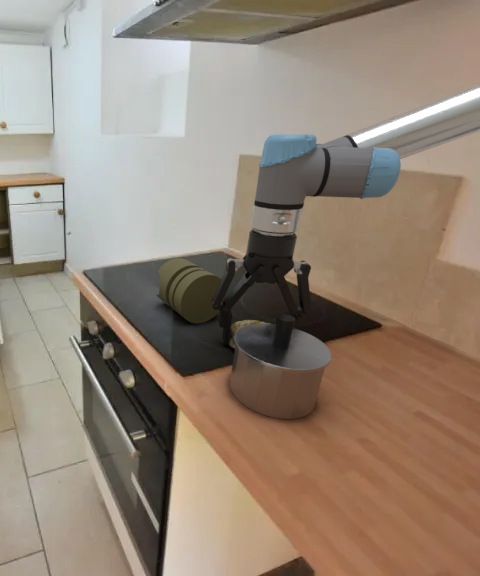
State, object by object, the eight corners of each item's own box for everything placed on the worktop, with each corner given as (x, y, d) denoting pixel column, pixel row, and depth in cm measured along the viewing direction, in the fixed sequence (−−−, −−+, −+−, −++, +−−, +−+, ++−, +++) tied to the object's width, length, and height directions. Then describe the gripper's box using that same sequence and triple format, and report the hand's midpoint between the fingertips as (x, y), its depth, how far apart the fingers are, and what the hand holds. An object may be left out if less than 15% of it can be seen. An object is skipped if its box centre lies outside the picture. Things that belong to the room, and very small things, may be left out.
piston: (192, 298, 95) (196, 255, 91) (222, 319, 85) (229, 271, 81) (152, 305, 92) (155, 260, 88) (178, 327, 81) (183, 278, 77)
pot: (299, 373, 66) (309, 330, 62) (326, 423, 54) (341, 374, 51) (225, 367, 68) (231, 324, 64) (236, 414, 56) (245, 365, 53)
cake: (215, 346, 74) (217, 320, 72) (242, 330, 80) (244, 306, 79) (265, 363, 67) (268, 336, 65) (290, 345, 73) (293, 319, 71)
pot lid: (311, 332, 63) (318, 302, 61) (345, 380, 51) (356, 344, 49) (227, 326, 65) (231, 296, 63) (241, 371, 53) (247, 336, 51)
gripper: (207, 233, 63) (195, 348, 72) (354, 239, 60) (323, 359, 68) (203, 223, 70) (192, 329, 79) (335, 228, 67) (308, 338, 75)
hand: (253, 343), depth 73 cm, fingers closed on cake, 10 cm apart
